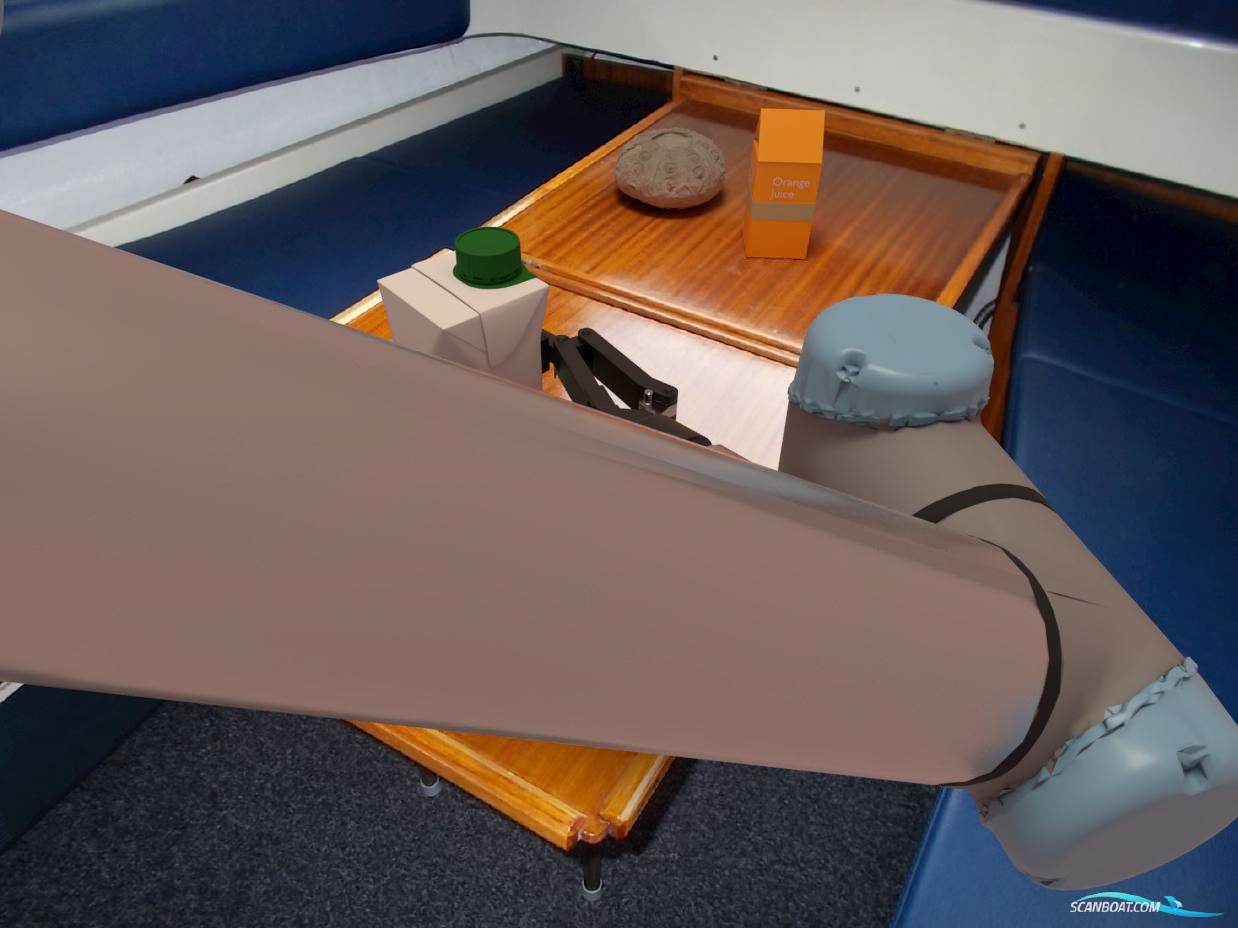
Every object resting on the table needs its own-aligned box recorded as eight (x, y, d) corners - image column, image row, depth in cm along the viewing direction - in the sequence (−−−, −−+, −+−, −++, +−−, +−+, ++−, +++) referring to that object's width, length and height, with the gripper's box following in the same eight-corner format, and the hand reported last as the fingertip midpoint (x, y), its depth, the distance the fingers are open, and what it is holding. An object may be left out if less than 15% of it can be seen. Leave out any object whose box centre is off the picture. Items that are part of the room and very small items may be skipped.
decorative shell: (654, 231, 131) (657, 167, 125) (592, 190, 142) (592, 129, 136) (744, 205, 139) (752, 143, 132) (679, 168, 150) (683, 109, 143)
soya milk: (569, 497, 65) (562, 255, 52) (469, 555, 60) (433, 305, 47) (500, 441, 70) (478, 206, 56) (403, 490, 65) (353, 247, 52)
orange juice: (741, 234, 131) (757, 98, 118) (799, 236, 131) (822, 100, 118) (745, 258, 125) (762, 119, 112) (806, 260, 125) (830, 121, 112)
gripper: (548, 657, 45) (304, 465, 56) (780, 457, 57) (543, 332, 69) (542, 559, 40) (276, 370, 51) (797, 364, 53) (539, 246, 64)
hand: (429, 349), depth 60 cm, fingers closed on soya milk, 9 cm apart
